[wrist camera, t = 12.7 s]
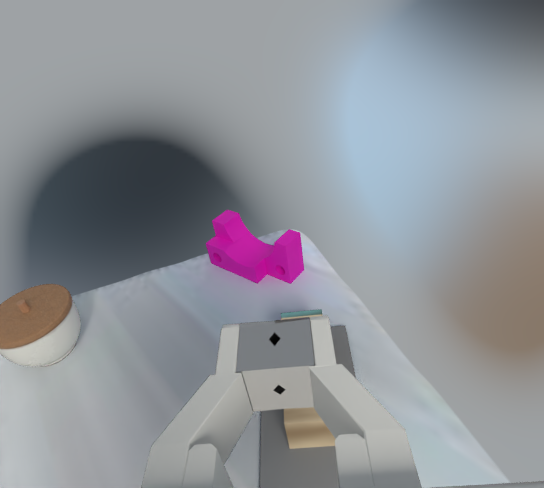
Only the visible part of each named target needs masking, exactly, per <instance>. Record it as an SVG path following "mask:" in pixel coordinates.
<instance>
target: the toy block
mask: <svg viewBox="0 0 544 488" xmlns="http://www.w3.org/2000/svg"><path fill="white" fill-rule="evenodd" d="M212 222H213V226H214V230H215V234H216V236H215V237H213V238H212V239H211V240H209V241H208V242H207V243H206V246H207V250H208V253H209V257H210V260H211V263H212V264H214V265H216V266H219V267H221V268H223V269H226V270H228V271H230V272H232V273H235V274H237V275H239V276H242V277H244V278H246V279H249V280H251V281H253V282H255V283H258V282H260V281H261V280H262V279H263V278H264V277H265V276H266V275H267V274H268V275H270V276H273V277H275V278H278V279H280V280H283V281H285V282H288V283H290V284H291V283H292V282H293V281H294V280H295V279H296V278H297V277H298V276H299V275H300V274H301V273H302V271H303V270H304V265H303V255H302V246H301V237H300V233H299V232H296V231H293V230H290V229H289V230H288V231H287V232H286V233H284V234H283V235H282V236H281V237H280V238H279V239H278V240H277V241H276V242H274V245H269V244H266V243H263V242H262V241H260V240H258V239H257V238H256V237H254V236H253V235H252V234H251V233H250V232H249V231H248V229H247V228H246V227H245V225H244V224H243V222H242V220H241V218H240V216H239V213H236V212H233V211H230V210H226V211H225V212H224V213H222V214H221V215H220V216H218V217H217V218H215V219H214V220H213V221H212Z"/></svg>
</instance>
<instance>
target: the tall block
mask: <svg viewBox="0 0 544 488" xmlns="http://www.w3.org/2000/svg"><path fill="white" fill-rule="evenodd" d="M315 316H322V309H321V310H310V311H299V312H288V313H281V320H284V319H294V318H303V317H315ZM284 425H285V429H286V434H287V439H288V443H289V448H290V449H295V448H310V447H325V446H335V440H336V439H335V437H334V436H333V435H332V433H331V432H330V430H329V429H328V428H327V426H326V425H325V423H324V422H323V420H322V419H321V418H320V416H319V415H318V413H317V412H316V411H315V409H314V407H310V408H289V409H284Z"/></svg>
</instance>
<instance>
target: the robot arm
mask: <svg viewBox="0 0 544 488" xmlns="http://www.w3.org/2000/svg"><path fill="white" fill-rule="evenodd" d="M310 407H314V409H315V411H316V412H317V413H318V415H319V416H320V418H321V419H322V420H323V422H324V423H325V425H326V426H327V428H328V429H329V430H330V432H331V433H332V435H333V436H334V437H335V439H336V440H335V453H336V468H337V483H338V488H422V487H421V484H420V480H419V477H418V473H417V470H416V466H415V463H414V459H413V456H412V452H411V449H410V445H409V442H408V438H407V435H406V431H405V429H404V428H403V427H402V426H401V425H400V423H399V422H398V421H397V420H396V419H395V418H394V417H393V416H392V415H391V414H390V413H389V412H388V411H387V410H386V409H385V408H384V407H383V406H382V405H381V404H380V403H379V402H378V401H377V400H376V399H375V398H374V397H373V396H372V395H371V394H370V392H369V391H368V390H367V389H366V388H365V387H364V386H363V385H362V384H361V383H360V382H359V381H358V380H357V379H356V378H355V377H354V376H353V375H352V374H351V373H350V372H349V371H348V370H347V369H346V368H345V367H344V366H343V365H342V364H336V358H335V352H334V346H333V340H332V334H331V327H330V321H329V317H328V315H325V316H315V317H303V318H294V319H284V320H275V321H266V322H252V323H240V324H226V325H223V327H222V329H221V334H220V342H219V349H218V356H217V364H216V371H215V374H214V375H209V377H208V378H207V379H206V380H205V381H204V383H203V384H202V385H201V386H200V388H199V389H198V390H197V391H196V392H195V394H194V395H193V396H192V397H191V398H190V400H189V401H188V402H187V403H186V405H185V406H184V407H183V408H182V409H181V411H180V412H179V413H178V414H177V415H176V417H175V418H174V419H173V420H172V422H171V423H170V424H169V425H168V426H167V428H166V429H165V430H164V431H163V432H162V434H161V435H160V436H159V437H158V439H157V440H156V441H155V442H154V443H153V445H152V446H151V450H150V454H149V458H148V462H147V466H146V470H145V474H144V478H143V482H142V486H141V488H234V487H233V485H232V482H231V480H230V478H229V476H228V473H227V471H226V469H225V466H224V464H225V462H226V461H227V459H228V457H229V455H230V454H231V452H232V450H233V449H234V447H235V445H236V443H237V442H238V440H239V438H240V436H241V435H242V433H243V431H244V429H245V428H246V426H247V424H248V422H249V421H250V419H251V417H252V415H253V412H256V411H266V410H276V409H289V408H310ZM432 488H544V481H538V482H522V483H521V482H520V483H502V484H485V485H468V486H450V487H432Z"/></svg>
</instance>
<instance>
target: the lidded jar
mask: <svg viewBox="0 0 544 488" xmlns="http://www.w3.org/2000/svg"><path fill="white" fill-rule="evenodd" d="M80 329H81V320H80V315H79V312H78V309H77V307H76V305H75V303H74V301H73V300H72V297H71V295H70V293H69V291H68V290H67V289H66V288H65V287H63V286H60V285H56V284H44V285H39V286H35V287H31V288H29V289H27V290H24V291H21V292H20V293H17V294H16V295H14V296H12V297H10V298H9V299H7V300H6V301H4V302H3V303H2V304H0V354H1V355H2V356H3V357H5V358H6V359H7V360H9V361H11V362H13V363H15V364H18V365H21V366H27V367H36V366H49V365H52V364H55V363H57V362H59V361H61V360H62V359H64V358H65V357H66V356H67V355H68V354H69V353H70V352H71V351H72V350H73V348H74V346H75V344H76V341H77V339H78V337H79V334H80Z"/></svg>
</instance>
